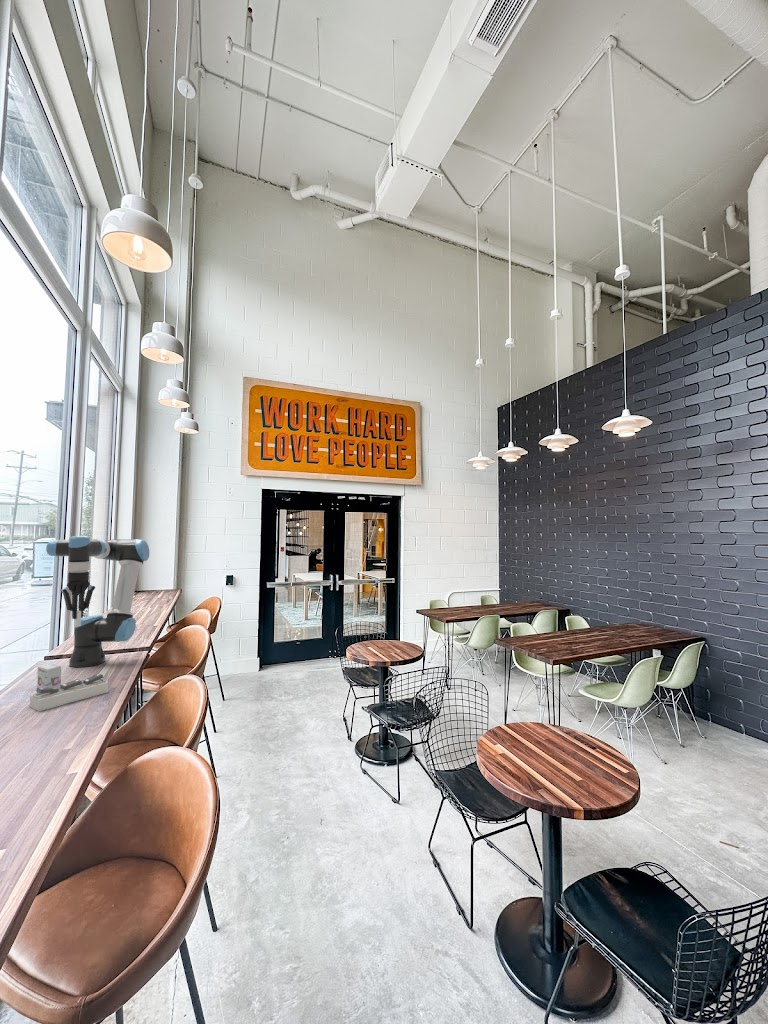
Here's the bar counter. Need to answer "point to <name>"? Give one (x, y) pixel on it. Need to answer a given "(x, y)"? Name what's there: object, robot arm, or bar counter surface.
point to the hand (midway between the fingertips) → (77, 625)
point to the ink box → (49, 676)
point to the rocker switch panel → (68, 695)
